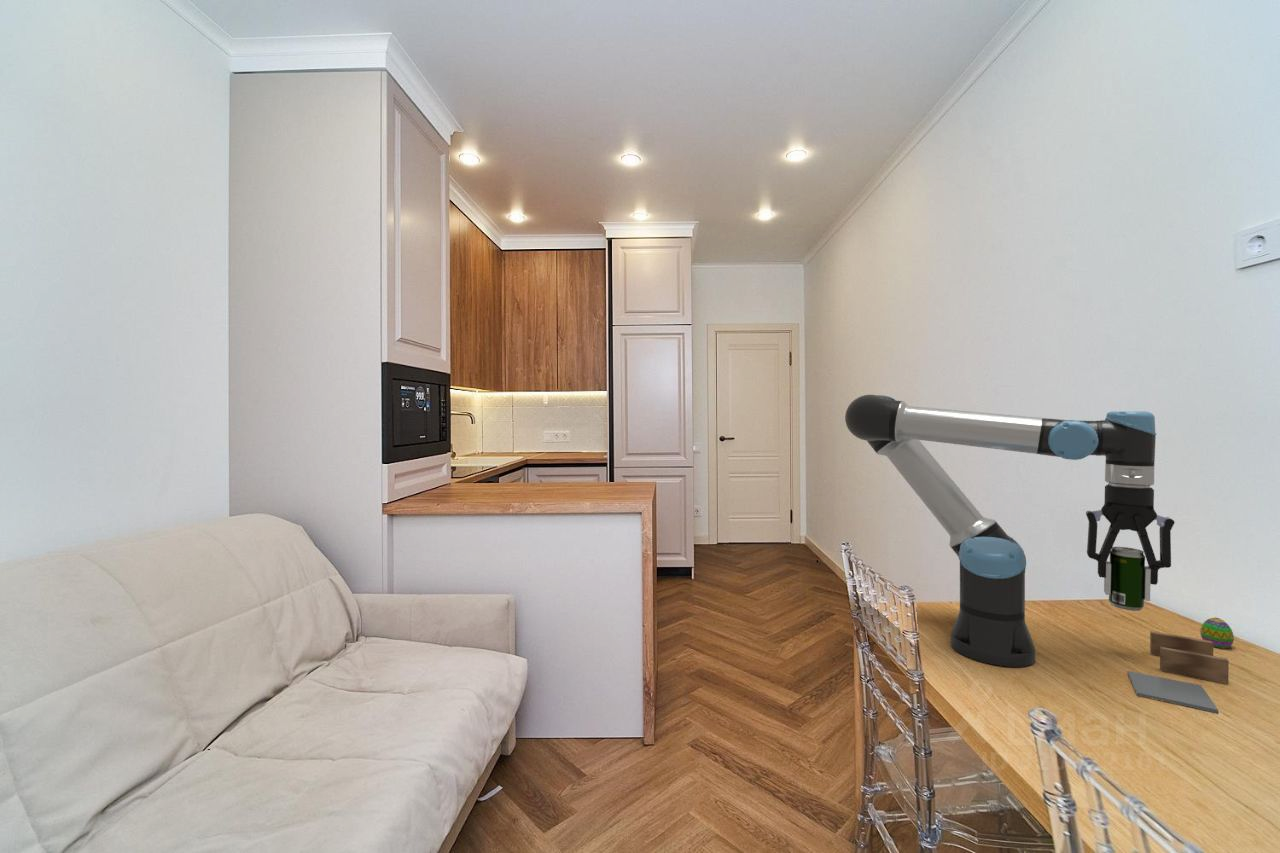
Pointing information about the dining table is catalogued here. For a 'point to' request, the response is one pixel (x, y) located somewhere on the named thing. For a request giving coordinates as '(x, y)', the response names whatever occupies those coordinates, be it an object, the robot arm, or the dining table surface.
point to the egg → (1217, 633)
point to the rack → (1189, 657)
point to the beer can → (1127, 578)
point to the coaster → (1172, 691)
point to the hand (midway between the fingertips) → (1126, 595)
